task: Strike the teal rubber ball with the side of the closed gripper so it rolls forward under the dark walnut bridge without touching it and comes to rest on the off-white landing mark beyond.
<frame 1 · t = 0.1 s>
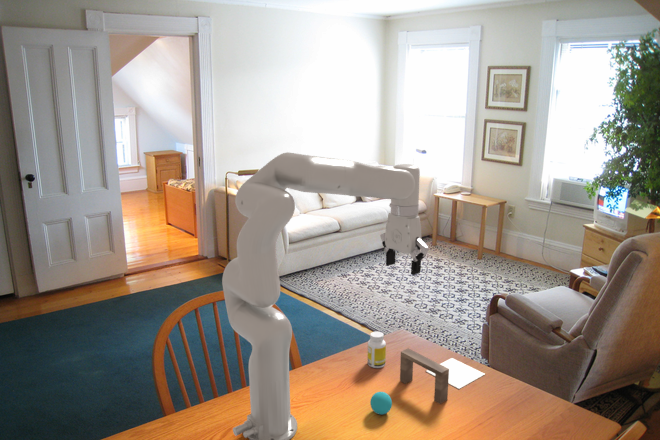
hand: (402, 269, 148), 31 cm above the table, tool pointing down, fingers open, 9 cm apart
bridge: (422, 390, 144), on the table
ball: (381, 402, 134), on the table
supplement bottle: (376, 364, 158), on the table
landing mark: (455, 373, 153), on the table
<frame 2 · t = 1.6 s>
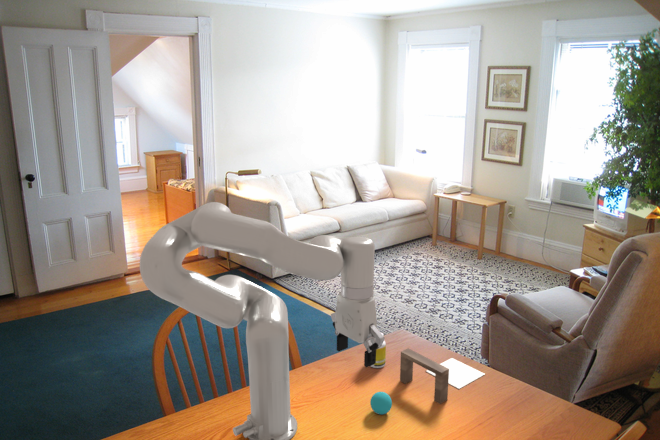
hand: (355, 357, 126), 18 cm above the table, tool pointing down, fingers open, 9 cm apart
nothing on the table moved.
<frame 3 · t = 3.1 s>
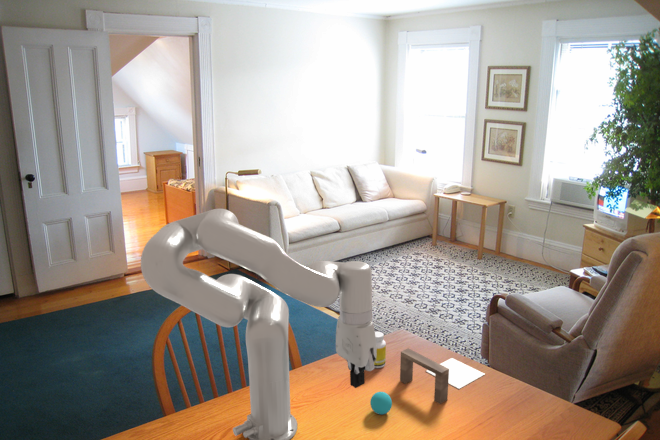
hand: (357, 384, 126), 12 cm above the table, tool pointing down, fingers closed
nothing on the table moved.
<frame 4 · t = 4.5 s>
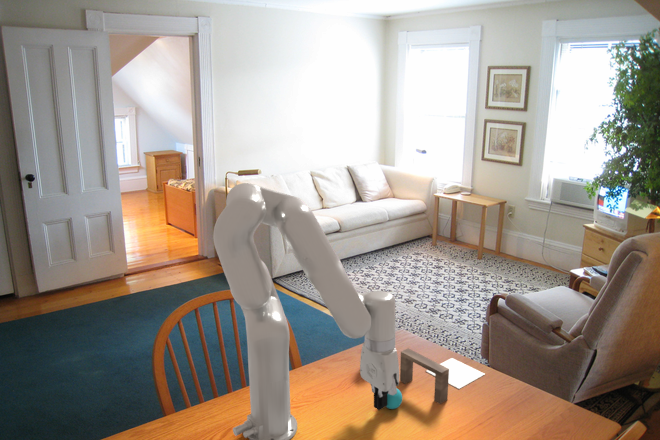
hand: (380, 406, 133), 2 cm above the table, tool pointing down, fingers closed
ball: (391, 397, 136), on the table
everything else where it was.
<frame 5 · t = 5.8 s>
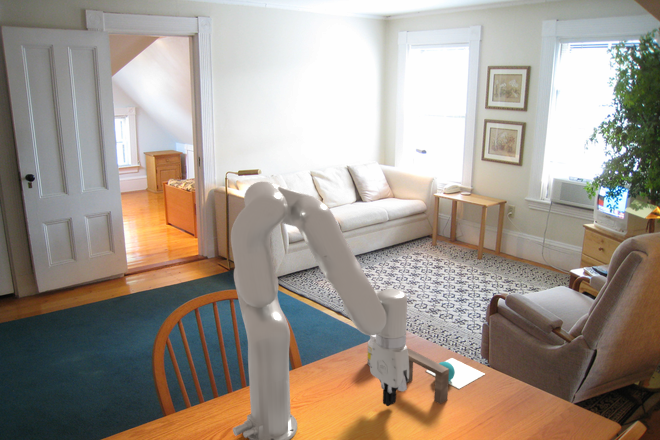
hand: (389, 402, 136), 2 cm above the table, tool pointing down, fingers closed
ball: (444, 371, 148), on the table
everything else where it was.
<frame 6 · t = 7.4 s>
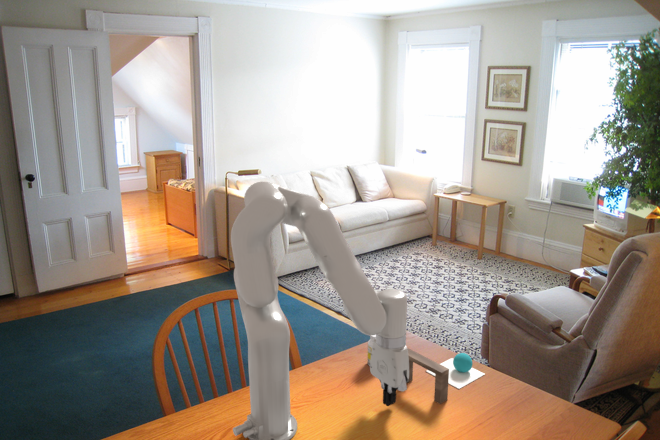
hand: (389, 402, 136), 2 cm above the table, tool pointing down, fingers closed
ball: (462, 362, 153), on the table
everything else where it was.
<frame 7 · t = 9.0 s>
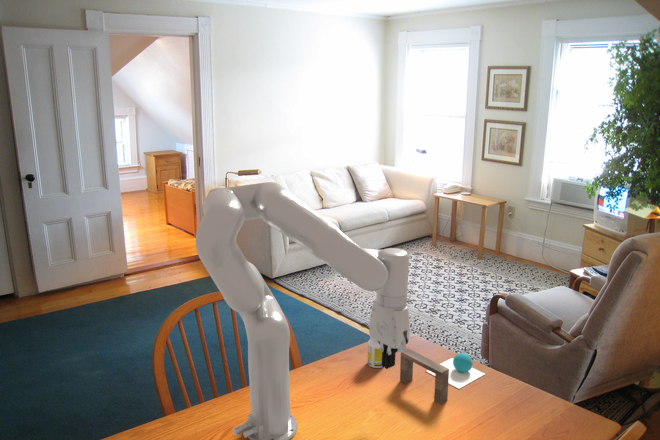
hand: (388, 365, 133), 12 cm above the table, tool pointing down, fingers closed
nothing on the table moved.
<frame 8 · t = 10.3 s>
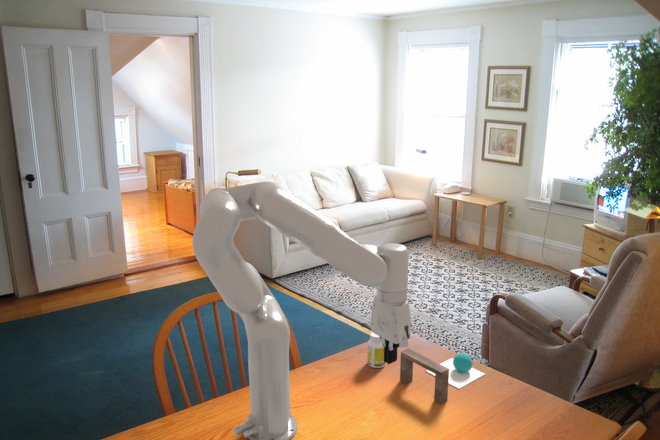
hand: (390, 361, 133), 14 cm above the table, tool pointing down, fingers closed
nothing on the table moved.
at the end: ball 2.5 cm from the landing mark (horizontally); ball never touched bridge; ball at rest at the end (0.0 cm/s) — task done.
